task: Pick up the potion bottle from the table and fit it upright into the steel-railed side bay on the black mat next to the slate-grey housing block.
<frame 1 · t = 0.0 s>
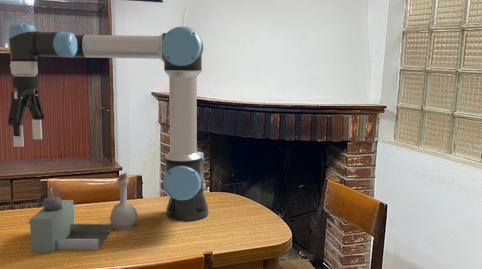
hand: (28, 142, 143), 28 cm above the table, tool pointing down, fingers open, 13 cm apart
housing: (54, 240, 136), on the table
potion bottle: (124, 226, 150), on the table
build plate: (49, 221, 155), on the table
side bay: (84, 240, 137), on the table
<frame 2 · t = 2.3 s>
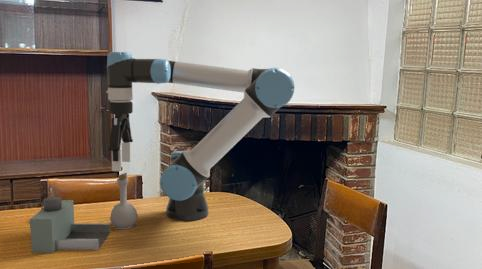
hand: (121, 166, 147), 20 cm above the table, tool pointing down, fingers open, 13 cm apart
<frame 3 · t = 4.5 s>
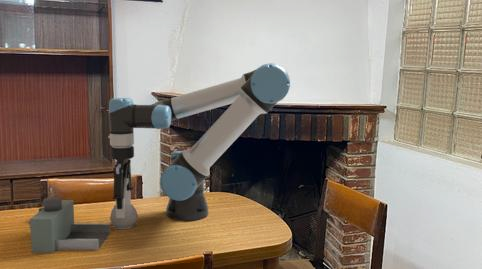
hand: (123, 213, 149), 4 cm above the table, tool pointing down, fingers closed on potion bottle, 8 cm apart
potion bottle: (124, 226, 150), on the table, touching gripper
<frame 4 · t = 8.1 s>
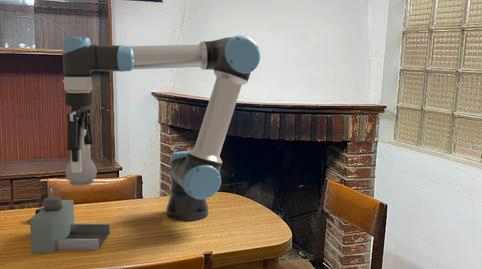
hand: (81, 168, 133), 22 cm above the table, tool pointing down, fingers closed on potion bottle, 8 cm apart
potion bottle: (81, 183, 134), point 18 cm above the table, touching gripper
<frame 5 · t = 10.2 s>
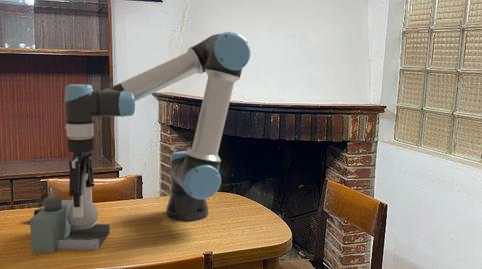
hand: (83, 212, 135), 9 cm above the table, tool pointing down, fingers closed on potion bottle, 8 cm apart
potion bottle: (83, 226, 136), point 5 cm above the table, touching gripper
when the fingers open (6 cm above the table, at t = 11.8 s): potion bottle drops 1 cm, resting on side bay.
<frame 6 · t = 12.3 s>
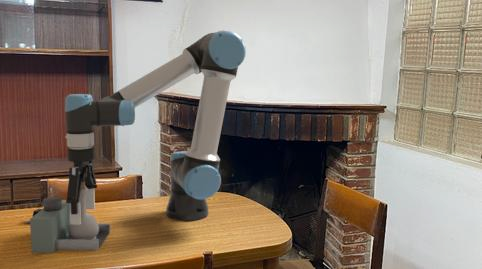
hand: (83, 216, 136), 8 cm above the table, tool pointing down, fingers open, 13 cm apart
potion bottle: (84, 239, 137), resting on side bay
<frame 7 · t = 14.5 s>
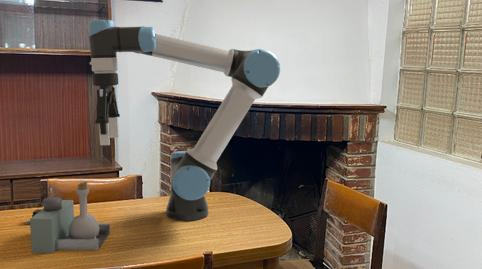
hand: (109, 141, 140), 29 cm above the table, tool pointing down, fingers open, 13 cm apart
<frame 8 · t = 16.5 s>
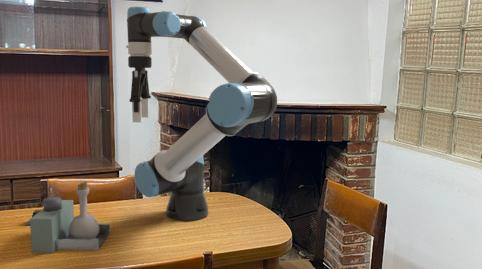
hand: (141, 119, 152), 35 cm above the table, tool pointing down, fingers open, 13 cm apart
at the end: potion bottle 0.1 cm off-centre on the side bay, point 0.2 cm above the side bay's base; potion bottle tilted 0°; the gripper is holding nothing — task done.
